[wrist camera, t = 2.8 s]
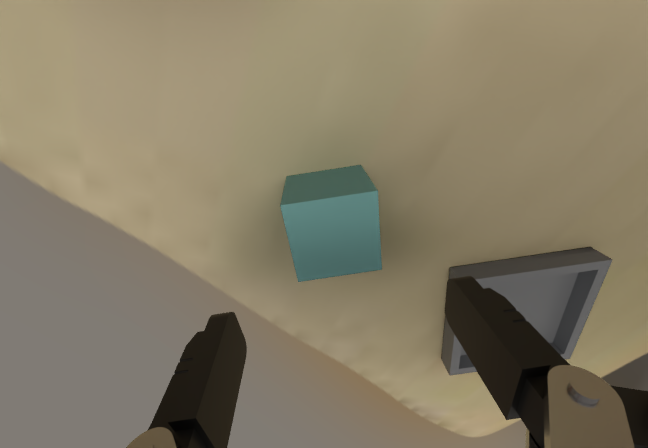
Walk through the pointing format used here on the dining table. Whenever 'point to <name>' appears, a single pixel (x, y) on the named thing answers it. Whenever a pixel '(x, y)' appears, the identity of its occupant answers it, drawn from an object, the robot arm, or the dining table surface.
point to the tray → (537, 296)
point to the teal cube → (332, 223)
